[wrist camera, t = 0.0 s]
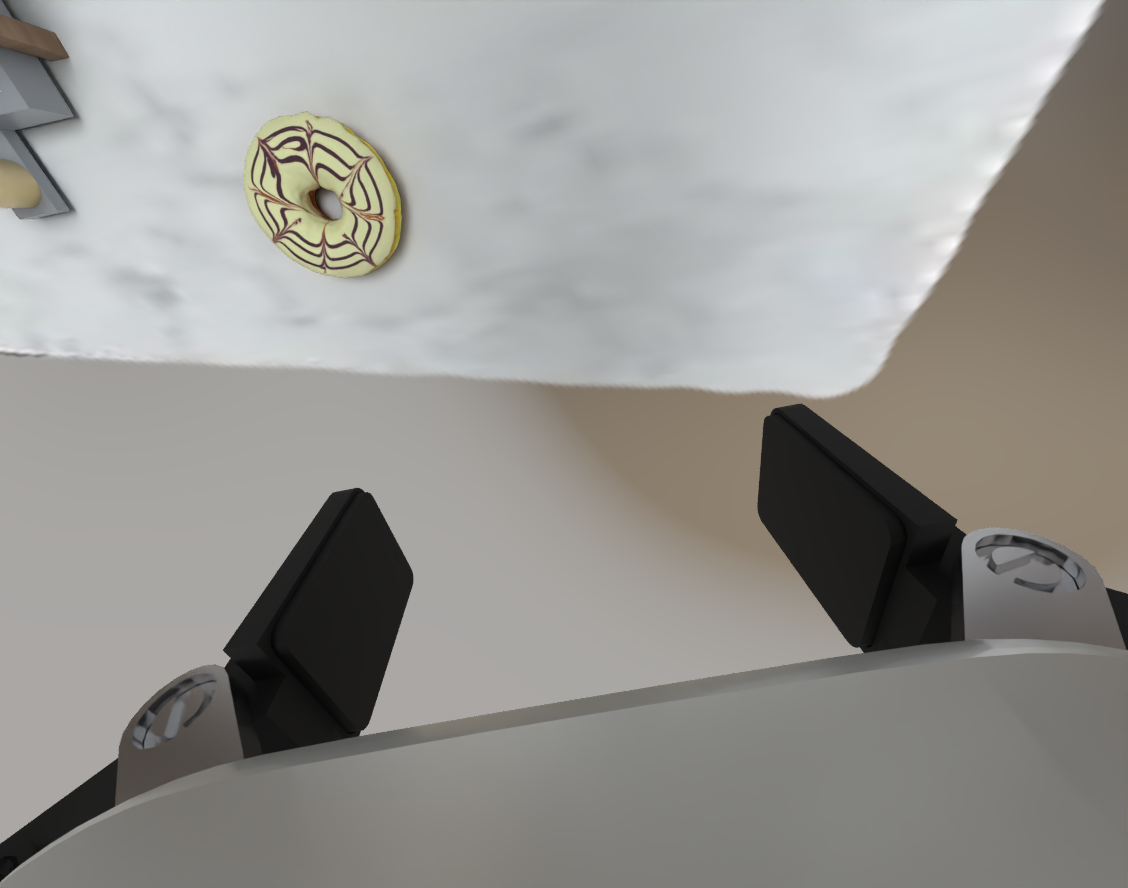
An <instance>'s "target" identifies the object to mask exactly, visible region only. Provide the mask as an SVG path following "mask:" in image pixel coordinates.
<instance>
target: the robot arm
mask: <svg viewBox="0 0 1128 888" xmlns="http://www.w3.org/2000/svg"><path fill="white" fill-rule="evenodd" d="M758 493H759V494H758V513H759V517H760V519H761V521H762V523H763V524H764V525H765V527H766V528H767V530H768V531H769V532H770V534H771V535H772V537H773V538H774V539H775V541H776V542H777V544H778V545H779V546H780V548H781V549H782V551H783V552H784V553H785V555H786V556H787V558H788V559H789V560H790V562H791V563H792V564H793V566H794V567H795V569H796V570H797V572H798V573H799V574H800V576H801V577H802V578H803V580H804V581H805V583H806V584H807V586H808V587H809V588H810V590H811V591H812V593H813V594H814V595H815V597H816V598H817V600H818V601H819V602H820V604H821V605H822V607H823V608H824V610H825V611H826V612H827V614H828V615H829V616H830V618H831V619H832V621H833V622H834V623H835V625H836V626H837V627H838V629H839V631H840V632H841V633H842V635H843V636H844V637H845V639H846V640H847V641H848V642H849V644H851V645H852V646H853V647H856V648H857V647H860V648H861V649H862V651H863V652H864V653H862V654H855V655H848V656H841V657H834V658H827V659H820V660H814V661H808V662H801V663H796V664H789V665H783V666H777V667H770V668H765V669H759V670H752V671H746V672H740V673H733V674H727V675H721V676H715V677H708V678H703V679H696V680H690V681H684V682H677V683H672V684H665V685H659V686H653V687H647V688H641V689H635V690H630V691H623V692H617V693H611V694H605V695H599V696H593V697H587V698H581V699H575V700H569V701H564V702H557V703H551V704H546V705H539V706H533V707H528V708H522V709H516V710H509V711H503V712H498V713H492V714H486V715H480V716H474V717H468V718H463V719H457V720H451V721H446V722H440V723H434V724H428V725H422V726H416V727H411V728H405V729H399V730H393V731H387V732H382V733H376V734H370V735H364V736H359V735H360V732H361V730H364V729H365V728H366V727H367V725H368V724H369V721H370V719H371V716H372V712H373V709H374V706H375V703H376V700H377V697H378V693H379V690H380V687H381V684H382V681H383V678H384V674H385V671H386V668H387V665H388V662H389V659H390V655H391V652H392V649H393V646H394V643H395V640H396V636H397V633H398V630H399V627H400V624H401V620H402V617H403V614H404V611H405V608H406V605H407V601H408V598H409V595H410V592H411V589H412V586H413V572H412V570H411V567H410V565H409V563H408V562H407V560H406V558H405V556H404V554H403V552H402V550H401V548H400V547H399V545H398V543H397V541H396V539H395V537H394V535H393V533H392V532H391V530H390V528H389V526H388V524H387V522H386V520H385V518H384V517H383V515H382V513H381V511H380V509H379V508H378V505H377V503H376V501H375V500H374V498H373V496H372V495H371V494H370V493H368V492H366V493H365V492H364V491H363V490H362V489H360V488H354V489H349V490H344V491H338V492H334V493H332V494H331V495H330V496H329V498H328V500H327V501H326V502H325V504H324V505H323V506H322V508H321V509H320V511H319V512H318V514H317V515H316V516H315V518H314V519H313V521H312V522H311V524H310V525H309V527H308V528H307V529H306V531H305V532H304V534H303V535H302V537H301V538H300V540H299V541H298V543H297V544H296V545H295V547H294V548H293V550H292V551H291V553H290V554H289V555H288V557H287V558H286V560H285V561H284V563H283V564H282V566H281V567H280V568H279V570H278V571H277V573H276V574H275V576H274V577H273V579H272V580H271V581H270V583H269V584H268V586H267V587H266V589H265V590H264V592H263V593H262V594H261V596H260V597H259V599H258V600H257V602H256V603H255V605H254V606H253V608H252V609H251V610H250V612H249V613H248V615H247V616H246V617H245V619H244V620H243V622H242V623H241V625H240V626H239V628H238V629H237V630H236V632H235V633H234V635H233V636H232V638H231V639H230V641H229V642H228V644H227V645H226V647H225V648H224V649H223V651H224V652H225V653H226V654H227V655H228V656H229V657H230V658H231V659H230V660H229V662H228V663H227V665H226V666H225V668H224V667H221V666H218V665H207V666H202V667H199V668H196V669H193V670H190V671H189V672H187V673H185V674H183V675H181V676H179V677H178V678H176V679H174V680H173V681H171V682H170V683H169V684H167V685H166V686H164V687H163V688H162V689H160V690H159V691H158V692H157V693H156V694H155V695H153V696H152V697H151V698H150V699H149V700H148V701H147V702H146V703H145V704H144V705H143V706H142V707H141V708H140V709H139V711H138V712H137V713H136V714H135V715H134V717H133V718H132V719H131V721H130V723H129V724H128V726H127V727H126V729H125V731H124V732H123V734H122V738H121V742H120V745H119V754H118V758H117V759H116V760H115V761H113V762H112V763H111V764H109V765H108V766H106V767H105V768H104V769H102V770H101V771H100V772H98V773H97V774H96V775H94V776H93V777H92V778H90V779H89V780H87V781H86V782H85V783H83V784H82V785H80V786H79V787H78V788H76V789H75V790H74V791H72V792H71V793H69V794H68V795H67V796H65V797H64V798H63V799H61V800H60V801H58V802H57V803H56V804H54V805H53V806H52V807H50V808H49V809H47V810H46V811H45V812H43V813H42V814H41V815H39V816H38V817H37V818H35V819H34V820H33V821H31V822H30V823H28V824H27V825H26V826H24V827H23V828H21V829H20V830H19V831H17V832H16V833H15V834H13V835H12V836H11V837H9V838H8V839H7V840H5V841H4V842H2V843H1V844H0V888H1128V594H1127V593H1123V592H1119V591H1115V590H1112V589H1109V588H1105V585H1104V582H1103V579H1102V578H1101V576H1100V575H1099V573H1098V572H1097V570H1096V569H1095V567H1094V566H1093V565H1092V564H1090V563H1089V562H1088V561H1087V560H1086V559H1084V558H1083V557H1082V556H1081V555H1079V554H1078V553H1076V552H1074V551H1073V550H1071V549H1069V548H1067V547H1066V546H1064V545H1062V544H1060V543H1057V542H1055V541H1052V540H1050V539H1048V538H1045V537H1043V536H1039V535H1036V534H1032V533H1029V532H1025V531H1021V530H1014V529H1007V528H983V529H980V530H976V531H972V532H971V533H969V534H968V535H966V534H965V533H964V532H962V531H961V530H960V529H958V528H957V527H956V526H955V525H956V522H957V519H955V518H954V517H953V516H951V515H950V514H949V513H947V512H946V511H945V510H943V509H942V508H941V507H939V506H938V505H937V504H935V503H934V502H933V501H931V500H930V499H929V498H927V497H926V496H925V495H923V494H922V493H921V492H920V491H918V490H917V489H915V488H914V487H913V486H911V485H910V484H909V483H907V482H906V481H905V480H903V479H902V478H901V477H899V476H898V475H897V474H895V473H894V472H893V471H891V470H890V469H889V468H887V467H886V466H885V465H883V464H882V463H881V462H880V461H878V460H877V459H876V458H874V457H873V456H871V455H870V454H869V453H868V452H866V451H865V450H864V449H862V448H861V447H860V446H858V445H857V444H856V443H854V442H853V441H851V440H850V439H849V438H848V437H846V436H845V435H843V434H842V433H841V432H840V431H838V430H837V429H836V428H834V427H833V426H832V425H830V424H829V423H828V422H826V421H825V420H824V419H822V418H821V417H820V416H818V415H817V414H816V413H814V412H813V411H812V410H810V409H809V408H808V407H806V406H805V405H803V404H796V405H790V406H785V407H780V408H775V409H774V410H773V411H772V412H771V415H770V416H767V417H766V418H765V419H764V426H763V438H762V452H761V466H760V480H759V492H758Z"/></svg>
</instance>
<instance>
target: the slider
mask: <svg viewBox="0 0 1128 888" xmlns="http://www.w3.org/2000/svg"><path fill="white" fill-rule="evenodd" d="M0 14H2V15H5V16H8V17H11V18H12V16H11V15H10V13H9V11H8V10H7V8H6V7H5V5H4V3H3V2H2V0H0ZM0 91H1V92H0V208H11V209H12V210H13V211H14V213H15V214H16V215H17V217H18V218H19V219H35V218H40V217H44V216H49V215H53V214H58V213H62V212H67V211H70V210H69V208H68V207H67V205H66V204H65V202H64V201H63V200H62V198H61V197H60V195H59V194H58V192H57V191H56V190H55V188H54V187H53V185H52V184H51V182H50V181H49V179H48V178H47V177H46V175H45V174H44V172H43V171H42V169H41V168H40V167H39V165H38V164H37V162H36V161H35V159H34V158H33V156H32V155H31V154H30V152H29V151H28V149H27V148H26V146H25V145H24V144H23V142H22V141H21V139H20V138H19V136H18V135H17V133H16V132H15V131H14V130H19V129H23V128H27V127H31V126H36V125H40V124H44V123H49V122H53V121H57V120H62V119H66V118H70V117H74V115H73V114H72V112H71V110H70V109H69V107H68V106H67V104H66V102H65V101H64V99H63V98H62V96H61V94H60V93H59V91H58V90H57V88H56V86H55V85H54V83H53V82H52V80H51V78H50V77H49V75H48V74H47V72H46V70H45V69H44V67H43V66H42V64H41V62H40V61H39V59H38V58H37V56H33V55H30V54H26V53H23V52H20V51H16V50H13V49H9V48H6V47H2V46H0Z"/></svg>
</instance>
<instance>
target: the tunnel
mask: <svg viewBox="0 0 1128 888" xmlns="http://www.w3.org/2000/svg"><path fill="white" fill-rule="evenodd" d="M0 46H2V47H6V48H9V49H13V50H16V51H20V52H23V53H26V54H30V55H33V56H37V57H40V58H44V59H47V60H50V61H55V60H59V59H63V58H67V57H69V56H68V55H67V53H66V51H65V50H64V48H63V46H62V45H61V43H60V41H59V40H58V38H57V36H56V34H55V33H53V32H50V31H48V30H45V29H42V28H39V27H36V26H33V25H30V24H28V23H25V22H22V21H19V20H16V19H13V18H11V17H8V16H5V15H2V14H0Z"/></svg>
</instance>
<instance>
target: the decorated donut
mask: <svg viewBox="0 0 1128 888" xmlns="http://www.w3.org/2000/svg"><path fill="white" fill-rule="evenodd" d="M244 187H245V194H246V197H247V201H248V207H249V209H250V212H251V214H252V215H253V217H254V219H255V220H256V222H257V223H258V225H259V226H260V228H261V229H262V230H263V231H264V232H265V234H266V235H267V236H268V237H269V238H270V239H271V240H272V242H273V243H274V244H275V245H276V246H277V247H278V248H279V249H280V250H281V251H282V252H283V253H284V254H285V255H286V256H288V257H289V258H291V259H292V260H293V261H295V262H297V263H299V264H300V265H302V266H304V267H306V268H308V269H310V270H312V271H314V272H317V273H320V274H323V275H329V276H335V277H341V278H350V277H359V276H363V275H366V274H369V273H370V272H372V271H374V270H376V269H377V268H379V267H380V266H381V265H383V264H384V263H385V262H386V261H387V260H388V259H389V258H390V257H391V255H392V254H393V253H394V251H395V250H396V248H397V246H398V243H399V239H400V233H401V221H402V214H401V200H400V195H399V192H398V190H397V186H396V183H395V181H394V179H393V178H392V176H391V174H390V173H389V171H388V170H387V169H386V166H385V164H384V162H383V160H382V158H381V157H380V156H379V155H378V153H377V152H376V151H375V150H374V149H373V148H372V147H371V146H370V145H369V144H368V143H367V142H365V141H364V140H362V139H361V138H359V137H358V136H357V135H355V134H354V133H353V132H352V131H351V130H350V129H349V128H348V127H346V126H345V125H344V124H342V123H340V122H338V121H335V120H333V119H331V118H321V117H318V116H313V115H312V114H310V113H309V112H303V113H300V114H296V115H294V116H279V117H277V118H274V119H272V120H270V121H268V122H267V123H266V124H265V125H264V126H263V127H262V128H261V130H260V131H259V132H258V133H257V135H256V136H255V137H254V140H253V141H252V143H251V145H250V146H249V149H248V152H247V156H246V160H245V170H244ZM320 187H323V188H325V189H327V190H331V191H333V192H334V193H335V194H336V195H337V196H338V198H339V200H340V203H341V206H342V211H343V212H342V216H341V218H340V219H335V220H331V219H329V218H328V217H327V216H326V215H324V214H322V212H321V211H320V210H319V209H318V208H317V206H316V205H317V204H315V203H316V202H315V200H314V197H315V191H316V189H318V188H320Z"/></svg>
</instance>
